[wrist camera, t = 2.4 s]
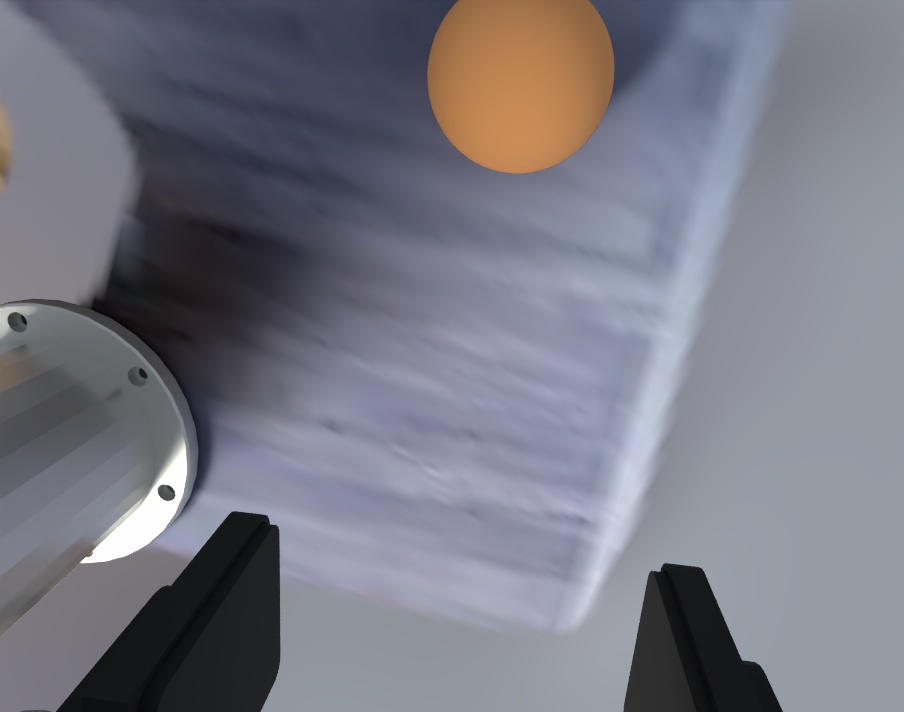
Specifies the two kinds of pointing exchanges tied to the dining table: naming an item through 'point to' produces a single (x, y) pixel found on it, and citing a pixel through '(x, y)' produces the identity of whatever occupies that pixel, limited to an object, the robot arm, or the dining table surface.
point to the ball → (520, 80)
